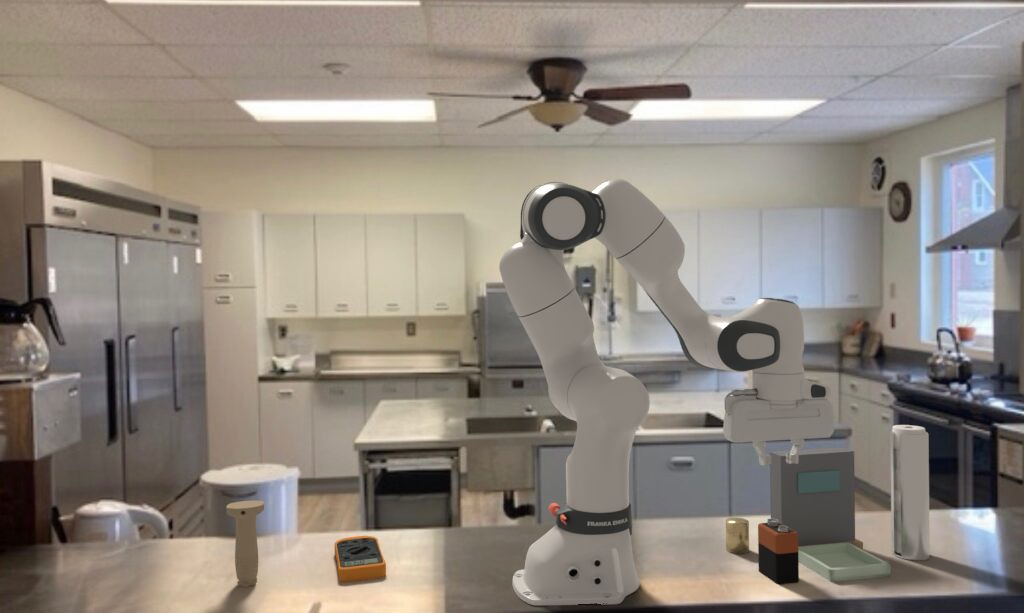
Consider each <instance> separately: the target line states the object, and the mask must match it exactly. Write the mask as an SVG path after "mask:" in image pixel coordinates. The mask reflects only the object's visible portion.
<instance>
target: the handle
mask: <svg viewBox="0 0 1024 613" xmlns="http://www.w3.org/2000/svg"><path fill="white" fill-rule="evenodd" d="M225 509H226V515H228V516H229V517H233V518H234V519H235V547H234V548H235V549H234V550H235V551H234V566H235V574H236V578H237V580H238V581H237V582H236V583H237V587H243V588H248V587H250V586H256V584H257V582H258V574H259V572H258V571H259V547H258V535H257V524H256V519H257V516H259V514H261V513H262V512H263V511H264V510H265V502H264V500H243V501H235V502H230V503H228V504H227V505H226V508H225Z"/></svg>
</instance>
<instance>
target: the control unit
mask: <svg viewBox="0 0 1024 613" xmlns="http://www.w3.org/2000/svg"><path fill="white" fill-rule="evenodd" d="M790 451H791V450H782V451H781V450H778V451H770V452H769V455H770V456H771V465H769V476H770V477H769V480H770V481H769V482H770V483H769V485H770V488H769V490H770V492H769V493H770V497H769V498H770V499H769V500H770V502H769V503H770V519H771V518H773V519H777V520H778V522H779V523H781V524H783V525H785V526H787V527H788V528H790V529H792V530H794V531H795V532H797V533H798V547H801V546H812V545H823V544H834V543H845V542H849V543H851V544H852V545H854V546H856V547H858V548H860V549H862V550H864V542H863V541H861V540H859V539H857V538H856V509H855V508H856V507H855V506H856V504H855V503H856V502H855V501H856V498H855V497H856V495H855V494H856V492H855V491H856V488H855V487H856V486H855V485H856V483H855V478H856V477H855V451H854V450H851V449H848V448H846V447H840V446H839V447H838V446H837V447H826V448H825V447H824V448H811V449H810V448H809V449H802V450H801V452H800V454H799V462H798V464H789V463H787V462H786V458H787V457H786V453H790Z"/></svg>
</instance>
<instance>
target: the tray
mask: <svg viewBox="0 0 1024 613" xmlns="http://www.w3.org/2000/svg"><path fill="white" fill-rule="evenodd" d="M798 560H799V564H801V565H803V566H804V567H806V568H807V569H809V570H811V571H812V572H814V573H815V574H818V575H819V576H820V577H822V578H824V579H825V580H827V581H829V582H830V583H831V582H842V581H851V580H853V581H854V580H862V579H871V578H872V579H873V578H882V577H884V578H885V577H891V574H892V572H891V569H892V568H891V563H890V562H887V561H885V560H884V559H881V558H879V557H877V556H875V555H874V554H872V553H869V552H867V551H866V550H864V549H863V550H862V549H860V548H858V547H856V546H854V545H852V544H851V543H849V542H845V543H834V544H823V545H812V546H801V547H798Z"/></svg>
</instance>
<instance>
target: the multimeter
mask: <svg viewBox="0 0 1024 613" xmlns="http://www.w3.org/2000/svg"><path fill="white" fill-rule="evenodd" d="M334 555H335V559H336V563H337V572H338V573H337V574H338V580H339V581H340V582H342V583H349V582H356V581H357V582H358V581H365V580H366V581H367V580H374V579H382V578H384V577H386V574H387V564H386V563H387V562H386V561H385V559H384V555H383V553H382V550H381V548H380V543H379V539H378V537H375V536H371V535H361V536H360V535H358V536H351V537H349V536H348V537H344V538H340V539H338V540H336V541H335V542H334Z"/></svg>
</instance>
